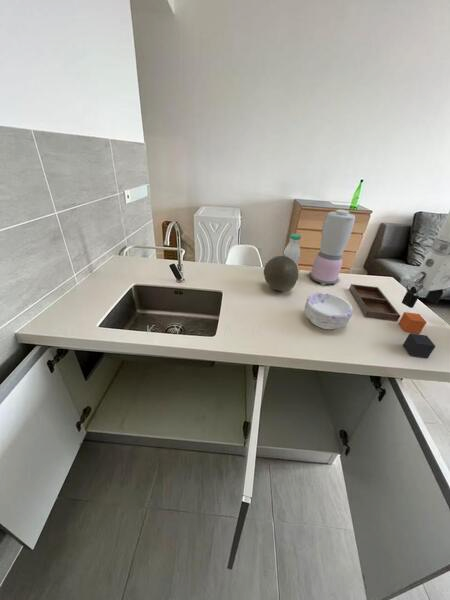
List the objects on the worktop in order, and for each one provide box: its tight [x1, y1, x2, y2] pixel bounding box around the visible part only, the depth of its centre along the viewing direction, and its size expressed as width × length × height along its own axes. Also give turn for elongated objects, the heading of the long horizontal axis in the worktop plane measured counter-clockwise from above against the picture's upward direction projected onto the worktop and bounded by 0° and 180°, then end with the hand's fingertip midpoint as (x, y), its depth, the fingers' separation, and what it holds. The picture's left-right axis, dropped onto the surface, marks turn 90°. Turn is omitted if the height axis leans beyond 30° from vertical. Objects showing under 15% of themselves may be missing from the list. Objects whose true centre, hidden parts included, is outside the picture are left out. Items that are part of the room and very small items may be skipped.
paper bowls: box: [303, 292, 354, 330], centre depth 86 cm, size 15×15×8 cm
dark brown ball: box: [263, 255, 299, 292], centre depth 102 cm, size 14×14×15 cm
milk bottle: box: [282, 233, 302, 268], centre depth 115 cm, size 8×8×20 cm
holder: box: [348, 283, 401, 322], centre depth 100 cm, size 12×22×3 cm, turn 171°
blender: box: [309, 209, 356, 287], centre depth 110 cm, size 16×12×32 cm
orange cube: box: [398, 311, 427, 335], centre depth 85 cm, size 5×5×5 cm
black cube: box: [402, 332, 436, 359], centre depth 75 cm, size 5×5×5 cm
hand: (419, 303), depth 72 cm, fingers open, 9 cm apart
